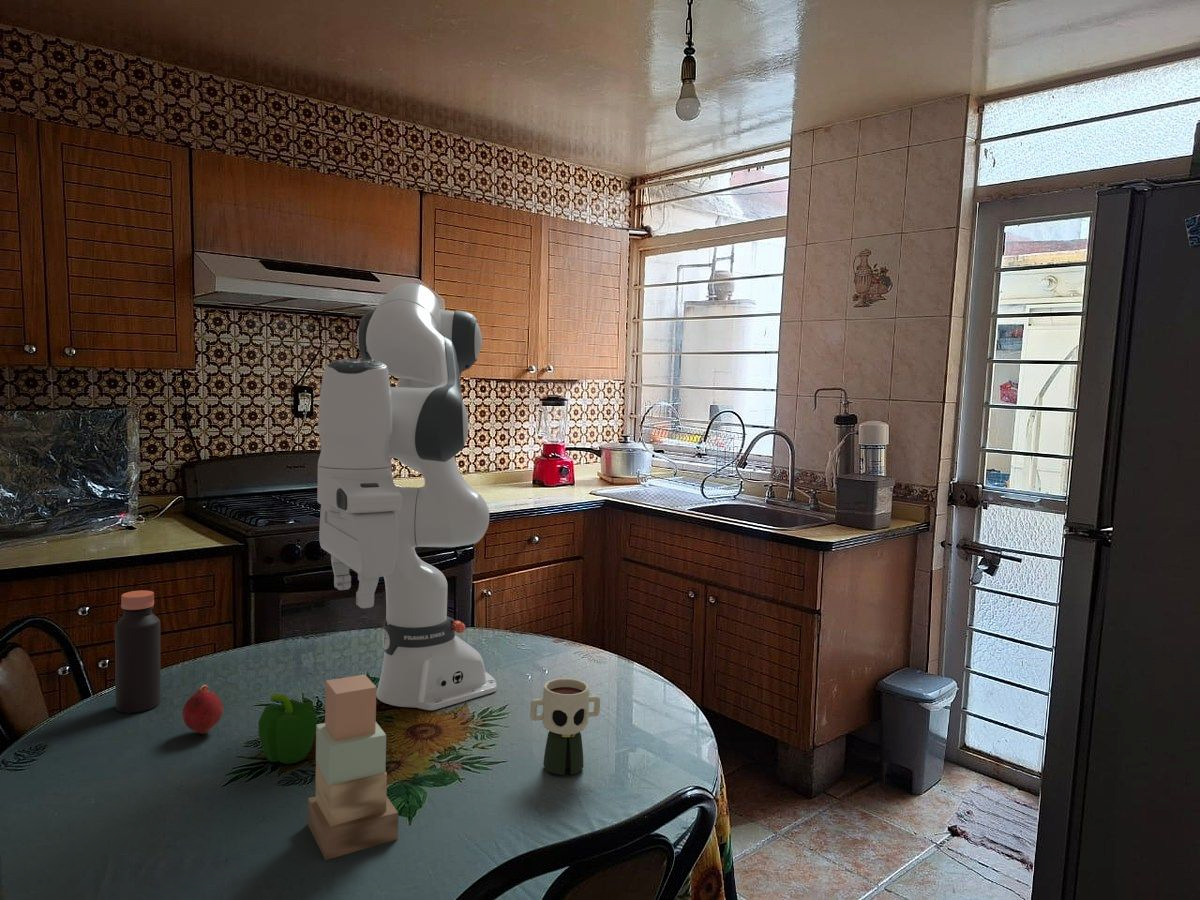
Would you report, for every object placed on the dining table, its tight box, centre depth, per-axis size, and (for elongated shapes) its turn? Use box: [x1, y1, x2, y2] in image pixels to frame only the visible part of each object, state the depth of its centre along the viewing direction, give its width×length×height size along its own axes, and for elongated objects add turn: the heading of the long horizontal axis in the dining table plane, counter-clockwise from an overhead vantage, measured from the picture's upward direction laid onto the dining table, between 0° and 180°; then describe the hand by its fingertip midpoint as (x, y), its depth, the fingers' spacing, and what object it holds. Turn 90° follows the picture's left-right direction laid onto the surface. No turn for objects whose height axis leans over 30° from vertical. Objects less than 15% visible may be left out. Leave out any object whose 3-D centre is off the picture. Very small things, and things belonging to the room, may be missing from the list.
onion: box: [182, 684, 224, 735], centre depth 128 cm, size 6×6×8 cm
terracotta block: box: [324, 674, 377, 741], centre depth 101 cm, size 5×5×6 cm
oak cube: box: [314, 763, 388, 827], centre depth 101 cm, size 7×7×5 cm
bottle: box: [114, 589, 162, 714], centre depth 137 cm, size 7×7×20 cm
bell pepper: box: [257, 693, 318, 765], centre depth 121 cm, size 8×8×10 cm
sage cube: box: [315, 721, 387, 786], centre depth 101 cm, size 7×7×5 cm
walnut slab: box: [307, 796, 399, 861], centre depth 102 cm, size 9×9×4 cm
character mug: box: [529, 677, 601, 776], centre depth 121 cm, size 11×7×13 cm, turn 105°
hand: (353, 597), depth 99 cm, fingers open, 8 cm apart
